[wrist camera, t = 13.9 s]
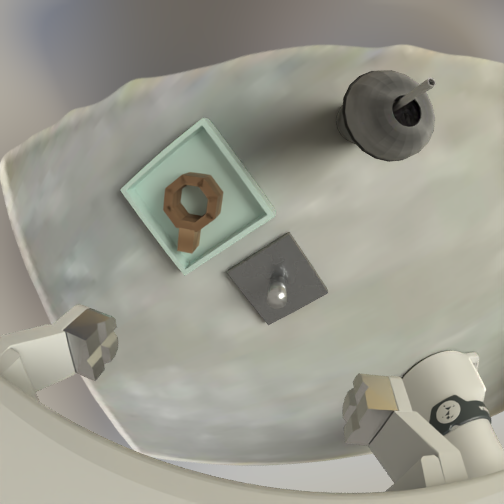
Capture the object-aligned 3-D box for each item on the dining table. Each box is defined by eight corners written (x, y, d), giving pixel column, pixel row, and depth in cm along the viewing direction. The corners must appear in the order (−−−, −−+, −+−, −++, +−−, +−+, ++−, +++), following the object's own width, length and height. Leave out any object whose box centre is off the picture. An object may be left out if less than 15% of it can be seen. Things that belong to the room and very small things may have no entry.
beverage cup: (336, 162, 32) (399, 191, 13) (314, 101, 29) (350, 48, 11) (393, 145, 30) (502, 160, 11) (373, 86, 28) (464, 35, 9)
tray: (276, 211, 34) (275, 216, 32) (190, 267, 38) (184, 275, 36) (209, 119, 31) (203, 117, 29) (129, 186, 35) (120, 189, 33)
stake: (327, 289, 37) (332, 310, 32) (268, 320, 40) (265, 344, 35) (289, 231, 35) (289, 246, 30) (228, 269, 38) (220, 288, 33)
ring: (176, 169, 33) (166, 172, 31) (225, 177, 33) (220, 180, 30) (169, 238, 37) (160, 247, 34) (215, 248, 36) (209, 257, 34)
